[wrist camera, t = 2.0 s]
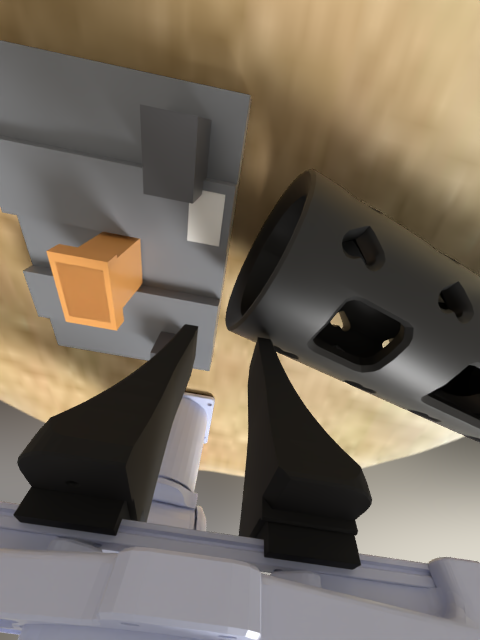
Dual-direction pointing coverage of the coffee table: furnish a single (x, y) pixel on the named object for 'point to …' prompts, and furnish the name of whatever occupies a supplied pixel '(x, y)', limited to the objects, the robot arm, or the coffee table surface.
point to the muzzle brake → (364, 303)
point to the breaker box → (123, 187)
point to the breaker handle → (97, 278)
